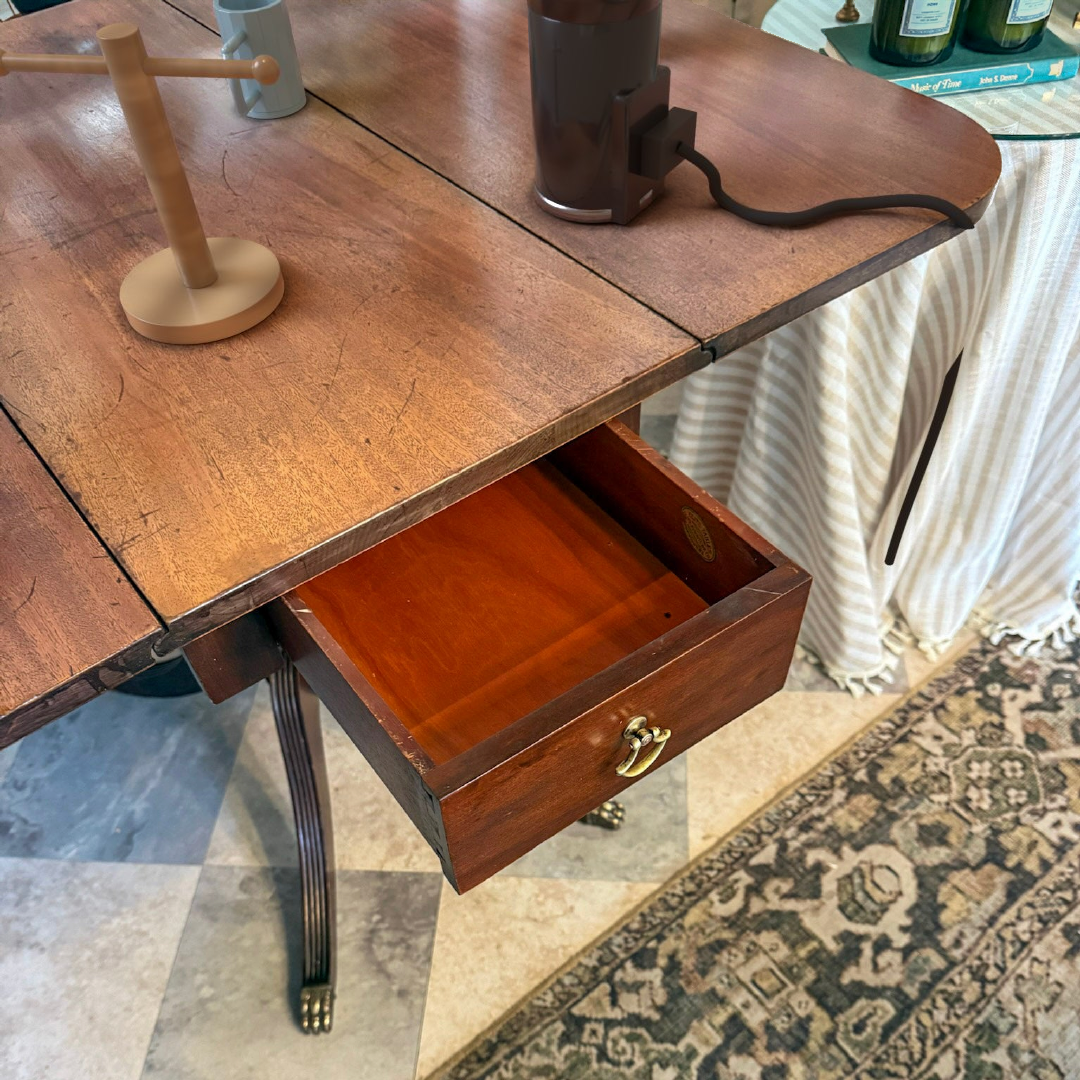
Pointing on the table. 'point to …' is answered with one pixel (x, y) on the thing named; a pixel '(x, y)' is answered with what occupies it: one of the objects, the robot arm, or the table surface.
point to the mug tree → (175, 199)
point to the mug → (261, 29)
